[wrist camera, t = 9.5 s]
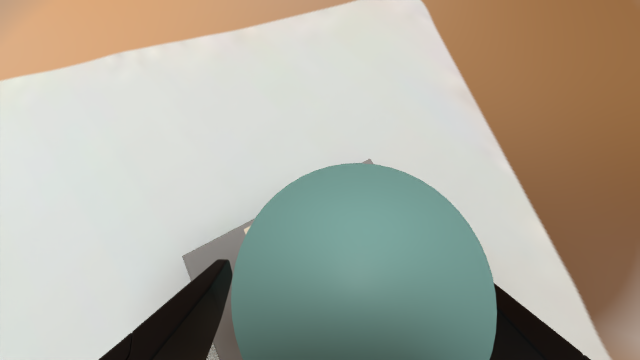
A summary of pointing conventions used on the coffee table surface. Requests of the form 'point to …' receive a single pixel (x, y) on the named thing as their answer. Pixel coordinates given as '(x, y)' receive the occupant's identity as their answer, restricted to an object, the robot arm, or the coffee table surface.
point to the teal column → (362, 273)
